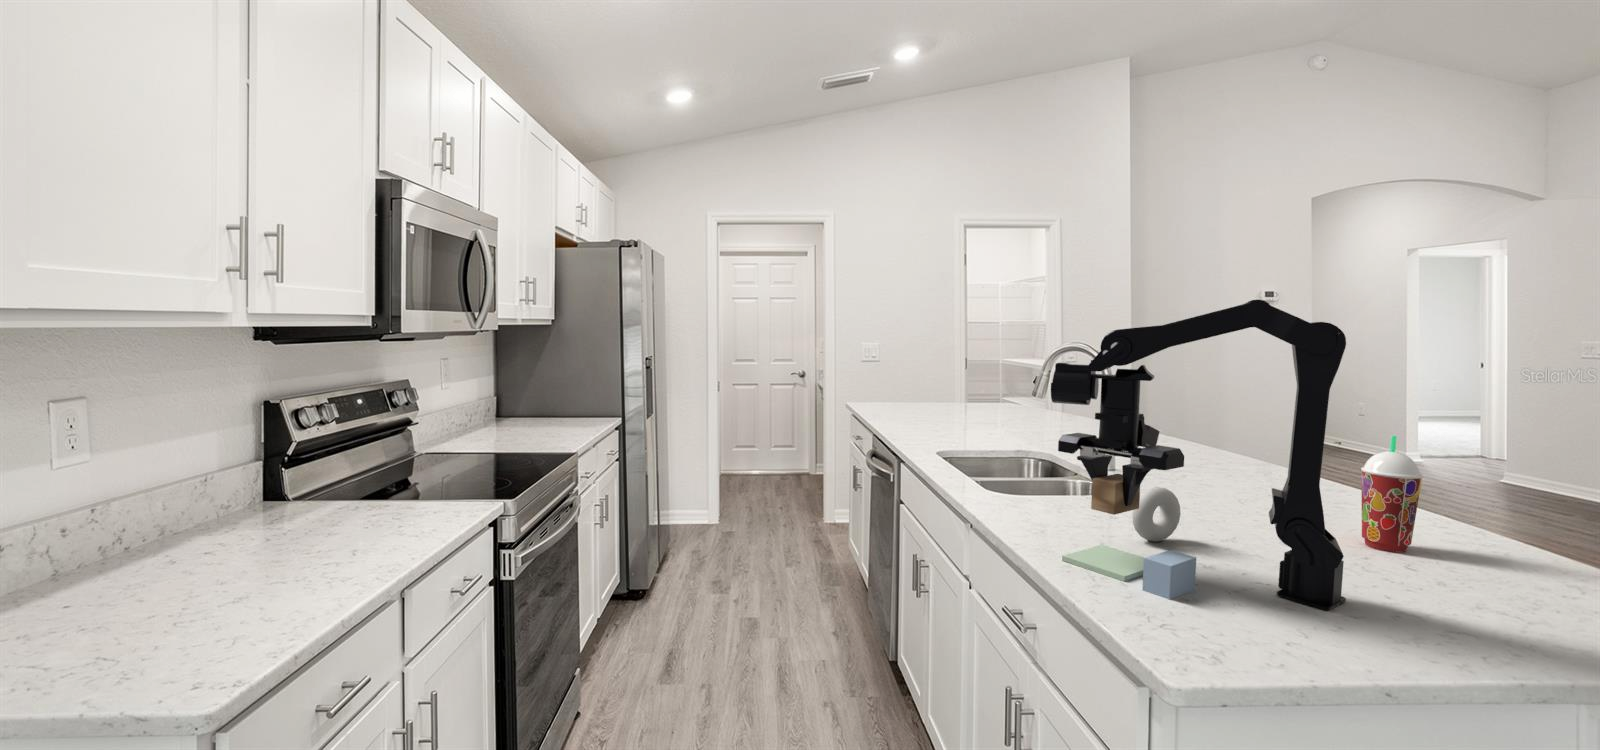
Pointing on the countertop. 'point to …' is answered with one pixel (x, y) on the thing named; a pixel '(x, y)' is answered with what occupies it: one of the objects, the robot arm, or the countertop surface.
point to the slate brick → (1169, 574)
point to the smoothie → (1389, 500)
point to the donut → (1166, 517)
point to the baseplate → (1108, 562)
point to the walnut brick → (1111, 495)
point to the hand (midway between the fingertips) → (1115, 502)
